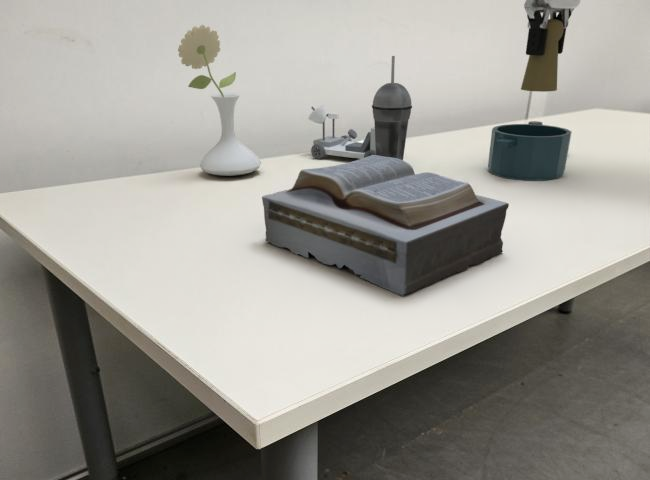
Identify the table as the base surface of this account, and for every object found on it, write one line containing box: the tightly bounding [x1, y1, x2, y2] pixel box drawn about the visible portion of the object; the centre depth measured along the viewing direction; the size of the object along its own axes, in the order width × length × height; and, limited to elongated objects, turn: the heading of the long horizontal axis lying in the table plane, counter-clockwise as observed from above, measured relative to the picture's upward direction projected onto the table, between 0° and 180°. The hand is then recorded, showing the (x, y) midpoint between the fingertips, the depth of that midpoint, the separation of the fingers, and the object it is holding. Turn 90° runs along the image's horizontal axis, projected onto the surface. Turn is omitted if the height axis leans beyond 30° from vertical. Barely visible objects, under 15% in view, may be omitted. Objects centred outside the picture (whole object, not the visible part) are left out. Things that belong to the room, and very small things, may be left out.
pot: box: [487, 123, 573, 182], centre depth 112 cm, size 14×19×8 cm
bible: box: [261, 155, 510, 298], centre depth 76 cm, size 23×27×10 cm
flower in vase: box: [177, 24, 262, 177], centre depth 108 cm, size 13×11×25 cm
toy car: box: [307, 105, 376, 160], centre depth 124 cm, size 18×10×12 cm
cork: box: [520, 18, 564, 93], centre depth 104 cm, size 6×6×11 cm
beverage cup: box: [371, 55, 413, 161], centre depth 110 cm, size 7×7×20 cm
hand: (544, 53), depth 104 cm, fingers closed on cork, 5 cm apart
